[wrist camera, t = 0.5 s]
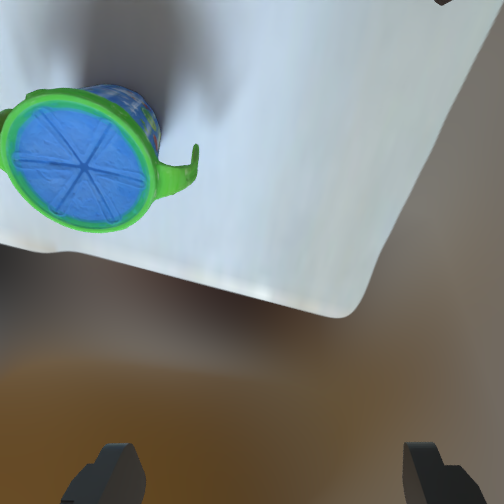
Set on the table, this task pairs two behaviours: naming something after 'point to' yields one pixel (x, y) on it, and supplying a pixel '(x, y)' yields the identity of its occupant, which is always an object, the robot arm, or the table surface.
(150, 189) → the snack cup
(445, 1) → the coffee mug
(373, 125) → the table surface
